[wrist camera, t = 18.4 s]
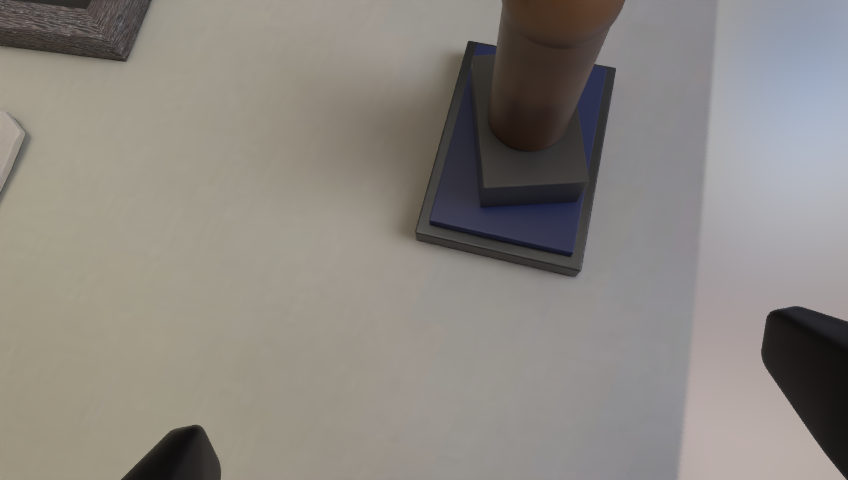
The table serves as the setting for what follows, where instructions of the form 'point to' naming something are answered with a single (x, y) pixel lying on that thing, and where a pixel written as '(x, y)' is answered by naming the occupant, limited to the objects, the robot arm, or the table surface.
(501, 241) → the ink pad
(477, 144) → the stamp
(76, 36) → the picture frame
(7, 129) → the grooming comb
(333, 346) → the table surface
